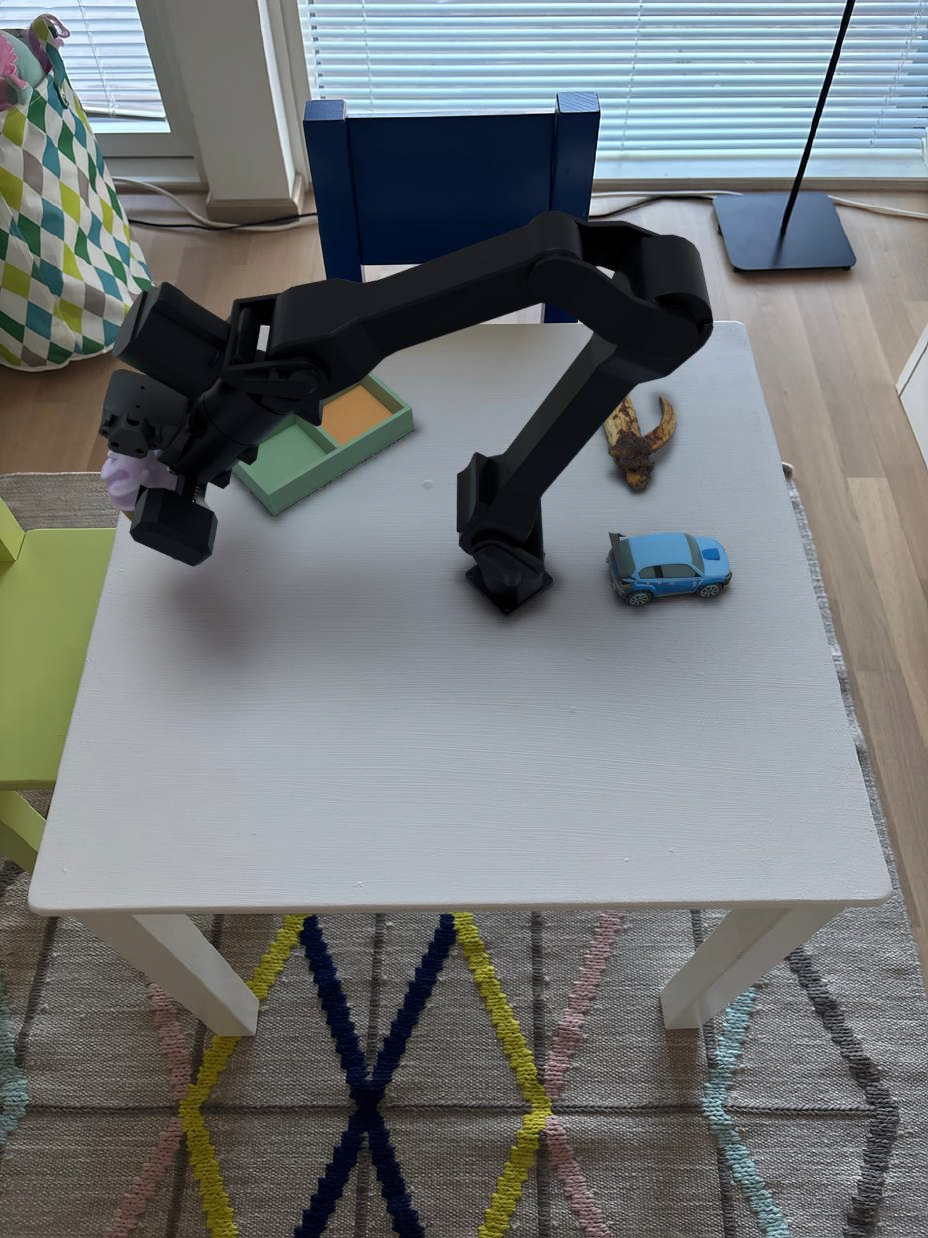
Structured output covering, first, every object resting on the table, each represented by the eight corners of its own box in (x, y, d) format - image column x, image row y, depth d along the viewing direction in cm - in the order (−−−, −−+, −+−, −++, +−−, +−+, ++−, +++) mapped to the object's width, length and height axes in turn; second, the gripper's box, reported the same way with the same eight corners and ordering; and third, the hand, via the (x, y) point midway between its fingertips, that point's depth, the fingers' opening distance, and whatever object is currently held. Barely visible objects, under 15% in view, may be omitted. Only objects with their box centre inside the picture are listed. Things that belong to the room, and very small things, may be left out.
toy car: (731, 597, 90) (745, 564, 85) (611, 609, 90) (619, 577, 85) (716, 549, 93) (729, 515, 88) (600, 560, 93) (607, 526, 88)
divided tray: (414, 429, 102) (412, 407, 99) (274, 516, 96) (267, 495, 93) (362, 382, 106) (359, 360, 103) (224, 462, 100) (217, 441, 97)
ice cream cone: (203, 518, 90) (156, 407, 77) (226, 562, 87) (181, 454, 74) (139, 545, 88) (80, 436, 76) (160, 591, 86) (102, 486, 73)
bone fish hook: (693, 490, 98) (656, 369, 107) (705, 462, 94) (664, 338, 103) (608, 497, 97) (577, 374, 106) (616, 468, 93) (583, 343, 102)
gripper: (163, 275, 72) (78, 382, 82) (114, 455, 62) (25, 552, 72) (282, 351, 78) (190, 441, 88) (255, 524, 69) (155, 604, 78)
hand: (142, 503), depth 81 cm, fingers closed on ice cream cone, 6 cm apart
